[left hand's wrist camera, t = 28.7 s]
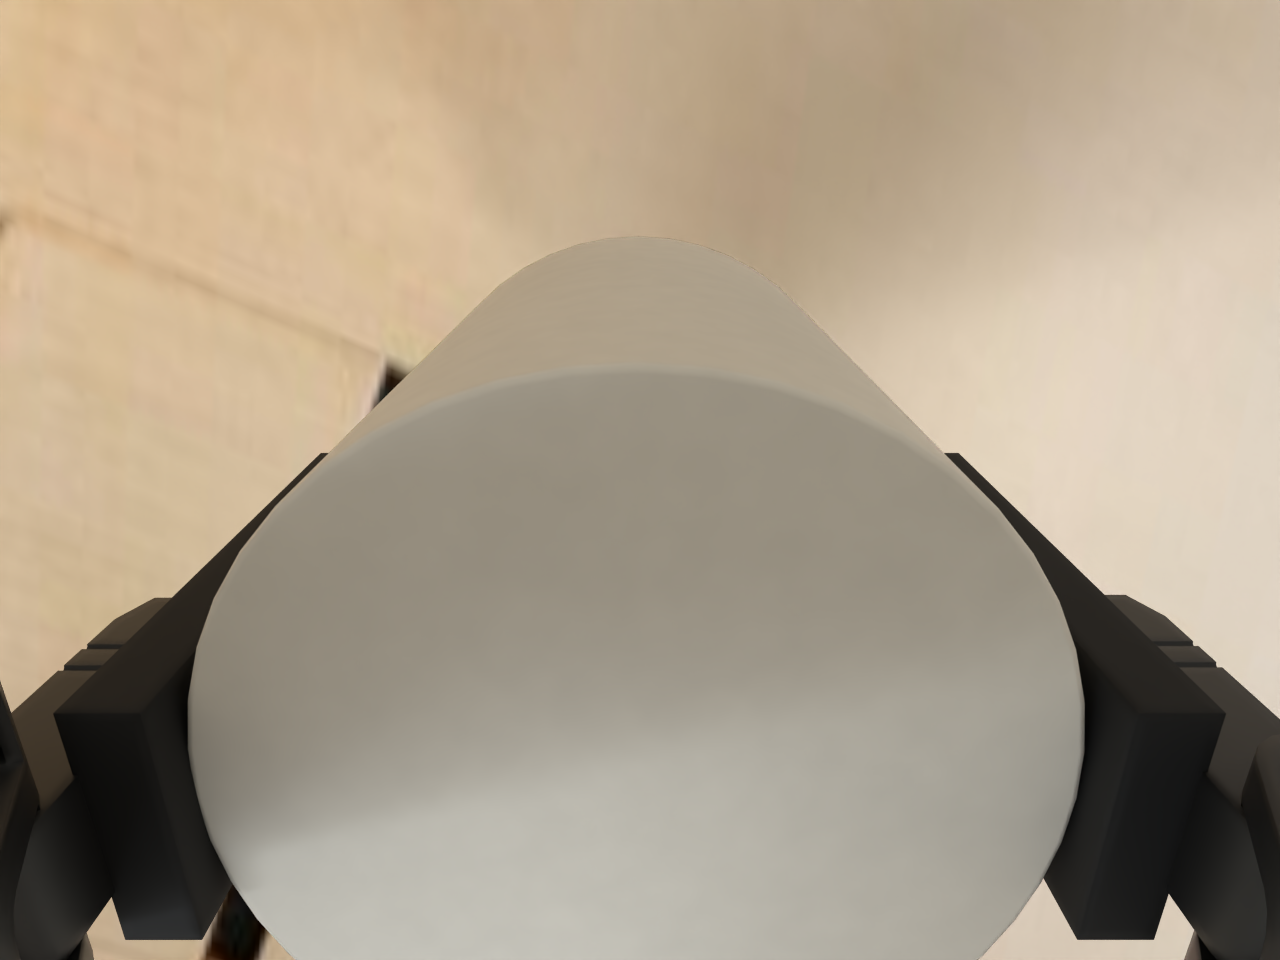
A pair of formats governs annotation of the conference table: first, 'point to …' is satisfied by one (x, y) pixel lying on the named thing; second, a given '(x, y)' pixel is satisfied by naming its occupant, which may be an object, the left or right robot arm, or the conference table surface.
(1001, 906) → the canister
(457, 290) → the conference table surface
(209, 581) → the left robot arm
